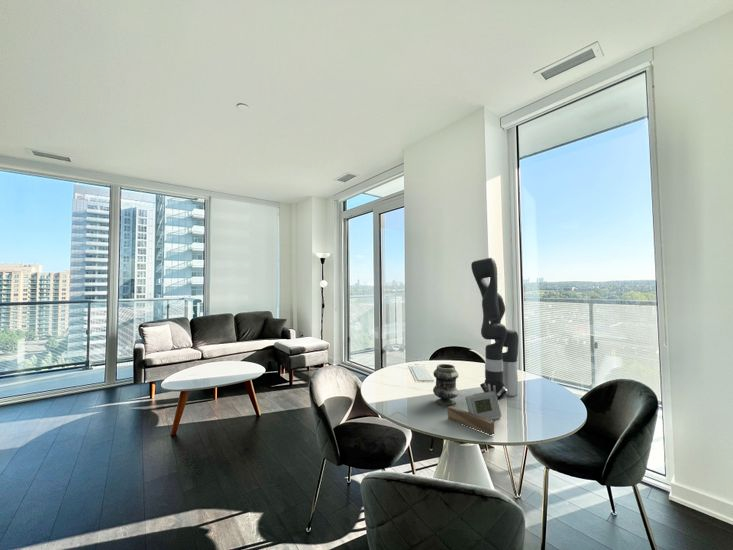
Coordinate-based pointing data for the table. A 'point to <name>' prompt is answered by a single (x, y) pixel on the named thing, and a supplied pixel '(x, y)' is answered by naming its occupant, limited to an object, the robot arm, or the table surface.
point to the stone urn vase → (445, 385)
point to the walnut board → (471, 420)
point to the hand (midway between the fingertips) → (494, 407)
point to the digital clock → (484, 405)
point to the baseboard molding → (420, 373)
